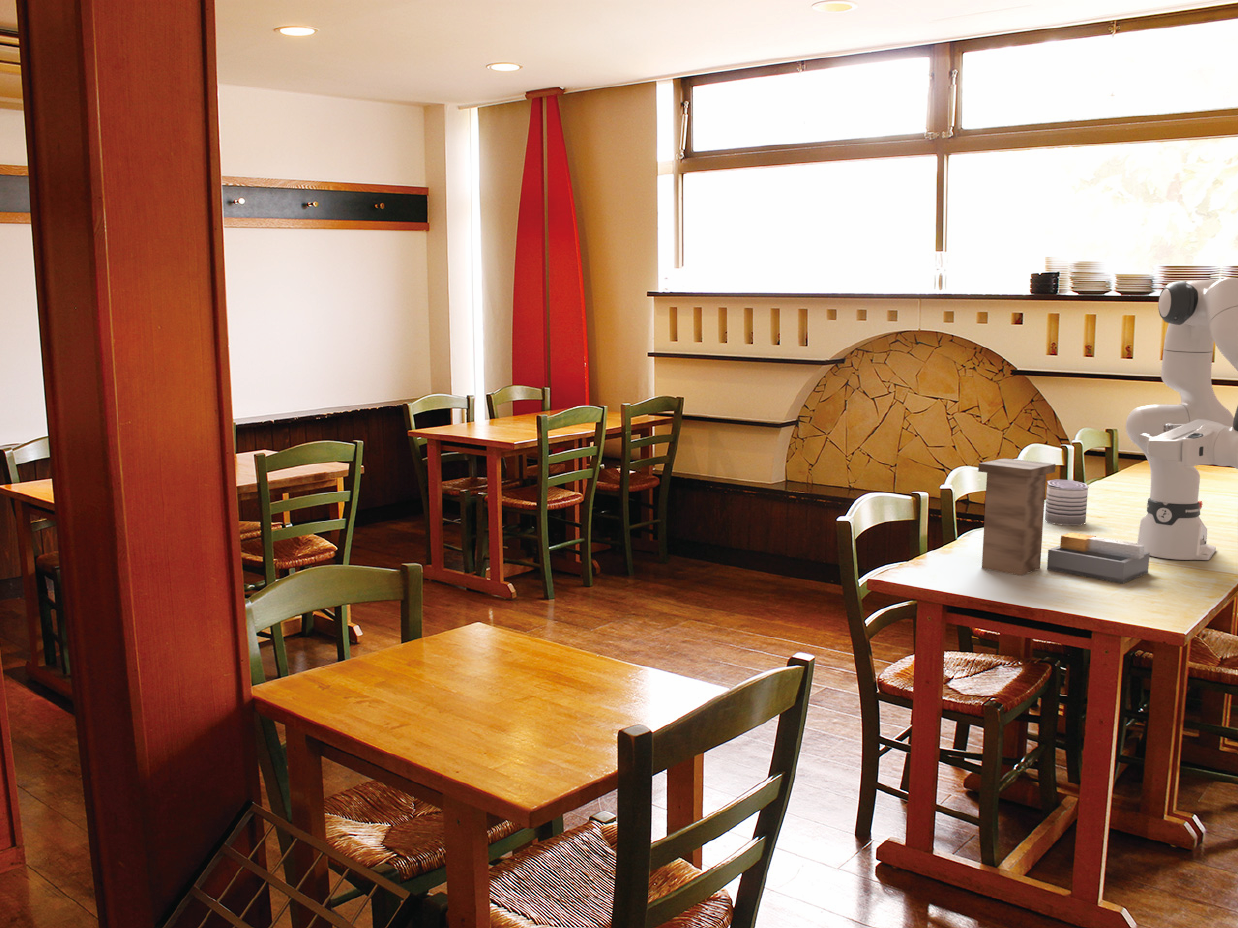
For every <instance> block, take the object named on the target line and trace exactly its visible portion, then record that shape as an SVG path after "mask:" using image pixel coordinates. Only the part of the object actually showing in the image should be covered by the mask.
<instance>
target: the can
mask: <svg viewBox="0 0 1238 928" xmlns="http://www.w3.org/2000/svg"><path fill="white" fill-rule="evenodd" d="M1046 482H1047V484H1046V494H1045V510H1044V512H1045V515H1044V521H1045V520H1046V521H1047V522H1050V523H1049V524H1052V523H1055V524H1054V525H1056V524H1062V525H1061V526H1066V525H1081V524H1084V523H1087V505H1088V493H1089V486H1088V484H1087V483H1084V482H1081V481H1076V480H1073V479H1072V480H1071V479H1057V478H1056V479H1051V480H1046ZM1046 521H1045V522H1046ZM1047 522H1046V523H1047ZM1084 525H1085V524H1084ZM1081 526H1082V525H1081Z"/></svg>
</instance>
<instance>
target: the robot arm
mask: <svg viewBox="0 0 1238 928" xmlns="http://www.w3.org/2000/svg"><path fill="white" fill-rule="evenodd" d="M1157 307H1158V313H1159V314H1158V315H1159V316H1160V318H1161V319H1162V320H1163V321H1164V323H1166V324H1168V325H1167V327H1166V328H1167V329H1166V333H1165V336H1164V343H1163V350H1162V351H1163V352H1162V360H1161V361H1162V362H1161V370H1160V378H1161V381H1162V383H1164V384H1165V386H1166V387H1168V388H1170V389H1171V390H1173V391H1175V392H1176V393H1177V392H1178V394H1179V395H1180V403H1179V404H1165V403H1164V404H1162V403H1161V404H1157V403H1155V404H1154V403H1153V404H1147V405H1143V406H1142V405H1141V406H1138V407H1135V408H1133V409H1132V410H1131V411H1130V412H1129V414H1128V415H1127V418H1126V420H1125V432H1126V435H1127V437H1128V439H1129V440H1130V441H1131V442H1132V443H1133V444H1135V445H1136V446H1137V447H1138V448H1139V449H1140V450H1141V452H1143V454H1144V455H1145V457H1146V459H1147V463H1148V465H1149V469H1150V493H1149V498H1148V499H1147V502H1146V512H1147V513H1146V514H1145V516H1143V517H1142V518H1141V519H1140V522H1139V528H1138V535H1137V543H1136V544H1142V545H1145V550H1144V552H1149V553H1150V555H1149V557H1150V556H1151V557H1155V558H1160V559H1167V560H1169V559H1170V560H1182V561H1184V560H1185V561H1188V560H1190V561H1192V560H1197V561H1209V560H1211V558H1212V557H1213V555H1214V554H1215V552H1216V551H1217V549H1216V548H1217V547H1216V546H1214V545H1211V544H1207V543H1208V542H1207V541H1208V528H1207V526H1206V525H1205V524H1204V522H1203V521H1202V519H1201V518H1200V516H1201V509H1202V508H1203V501H1202V500H1199V493H1200V481H1201V480H1200V479H1201V475H1200V472H1199V471H1198V469H1197V466H1201V465H1207V466H1208V465H1209V466H1210V465H1211V466H1212V465H1214V466H1219V467H1232V468H1234V469H1236V470H1238V405H1237V406H1236V409H1235V413H1234V416H1233V414H1232V413H1231V411H1230V410H1229V409H1227V407H1226V406H1224V405H1223V404H1222V403H1221V402H1220V401H1219V399H1218V398H1217V396H1216V394H1215V392H1214V388H1213V384H1212V365H1213V352H1214V344H1215V346H1216V347H1217V349H1218V350H1219V352H1220V353H1221V354H1222V356H1223V357H1224V358H1225V359H1226V360H1227V361H1228V362H1229V363H1230V365H1232V367H1234V369H1235V370H1236V371H1237V372H1238V277H1225V278H1222V279H1220V278H1218V279H1217V278H1215V279H1214V278H1209V279H1200V280H1188V281H1185V280H1179V281H1173V282H1169V283H1168V284H1167V285H1165V286H1164V287H1163V289H1162V290H1161V292H1160V295H1159V296H1158V306H1157ZM1195 466H1196V467H1195Z"/></svg>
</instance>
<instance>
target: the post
mask: <svg viewBox="0 0 1238 928" xmlns="http://www.w3.org/2000/svg"><path fill="white" fill-rule="evenodd" d="M1056 466H1057V465H1056V463H1051V462H1040V461H1032V460H1024V459H1023V460H1022V459H1013V458H999V459H996V460H995V459H994V460H990V461H989V460H988V461H984V462H979V463H978V467H977V472H980V473H986V482H985V484H986V485H985V486H986V487H985V500H984V501H985V502H984V506H985V507H984V520H983V521H984V522H983V523H984V525H983V539H982V540H983V542H982V556H981V557H982V560H981V569H984V570H988V571H995V572H1000V573H1005V574H1009V575H1010V574H1011V575H1015V576H1019V577H1020V576H1021V577H1022V576H1024V575H1026V574H1029V573H1032V572H1035V571H1037V570H1040V569H1041V562H1042V559H1041V558H1042V548H1043V547H1042V546H1043V545H1042V543H1043V531H1044V530H1043V529H1044V527H1043V526H1044V516H1045V515H1044V512H1045V501H1046V485H1047V484H1046V482H1047V475H1049V474H1054V473H1056Z"/></svg>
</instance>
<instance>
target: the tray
mask: <svg viewBox="0 0 1238 928" xmlns="http://www.w3.org/2000/svg"><path fill="white" fill-rule="evenodd" d="M1149 565H1150V553H1149V552H1144V558H1141V559H1134V558H1127V557H1121V556H1115V555H1109V554H1103V553H1097V552H1091V551H1086V552H1083V551H1077V550H1071V549H1065V548H1060V545H1058V546H1055V547H1052V548H1049V549H1048V550H1047V564H1046V570H1048V571H1051V572H1052V571H1053V572H1059V573H1064V574H1069V575H1072V576H1080V577H1083V578H1089V579H1095V580H1101V581H1107V582H1111V583H1118V584H1125V583H1127V582H1130V581H1132V580H1135V579H1137V578H1140V577H1142V576H1144V575H1146V574H1149Z"/></svg>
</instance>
